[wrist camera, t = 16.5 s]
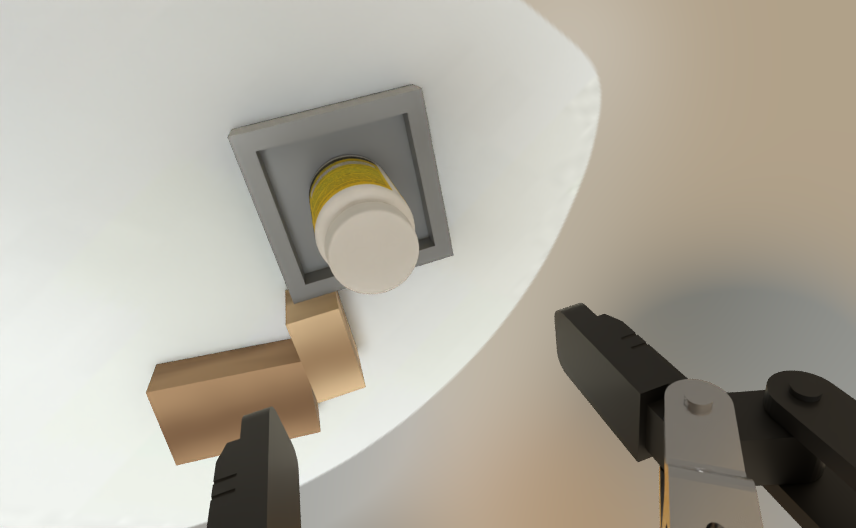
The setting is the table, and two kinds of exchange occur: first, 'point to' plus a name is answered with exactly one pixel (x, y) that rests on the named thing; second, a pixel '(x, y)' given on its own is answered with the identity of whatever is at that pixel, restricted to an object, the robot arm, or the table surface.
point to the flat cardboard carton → (230, 397)
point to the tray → (323, 141)
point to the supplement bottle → (362, 225)
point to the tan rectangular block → (324, 345)
